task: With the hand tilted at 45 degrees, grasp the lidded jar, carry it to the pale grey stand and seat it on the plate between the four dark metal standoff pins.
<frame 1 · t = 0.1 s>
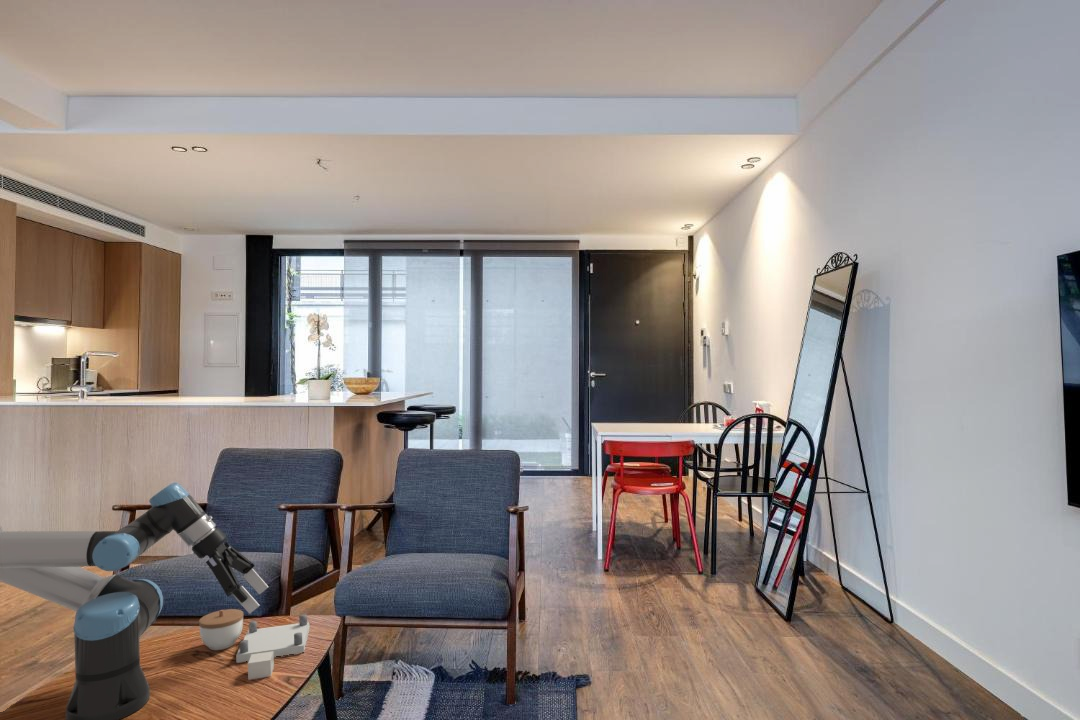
hand: (259, 599, 156), 15 cm above the table, tool tilted 35°, fingers open, 13 cm apart
plain off-white block: (261, 673, 149), on the table
grey stand: (275, 644, 164), on the table
lidded jar: (222, 646, 165), on the table
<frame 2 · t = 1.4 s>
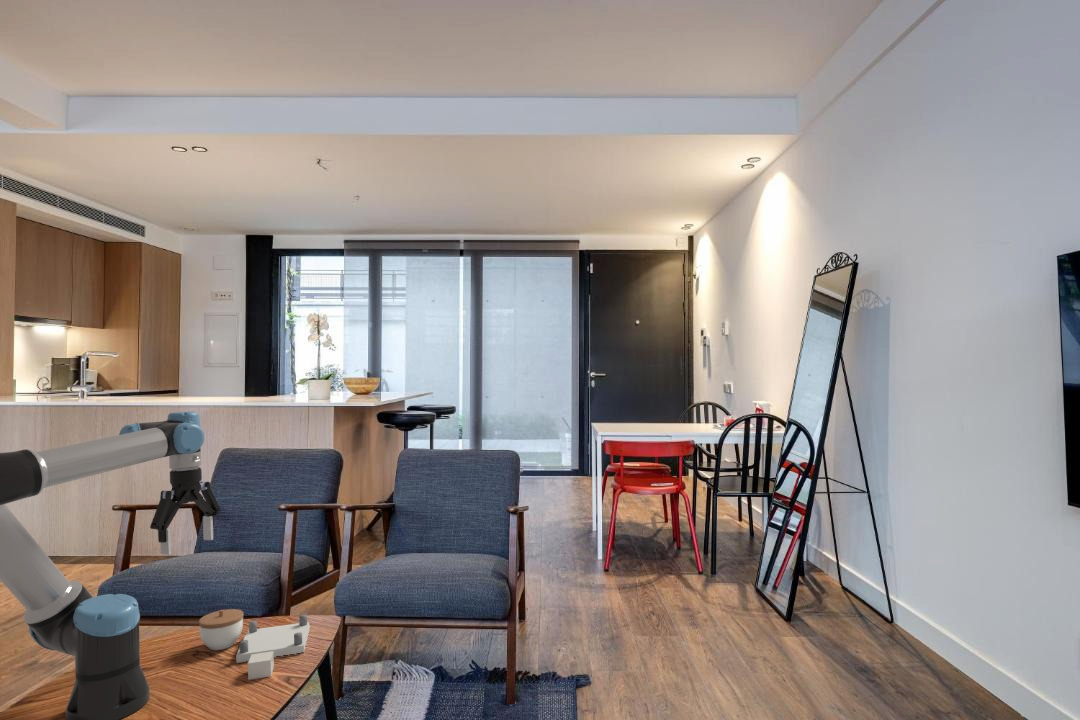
hand: (188, 546, 166), 27 cm above the table, tool pointing down, fingers open, 13 cm apart
nothing on the table moved.
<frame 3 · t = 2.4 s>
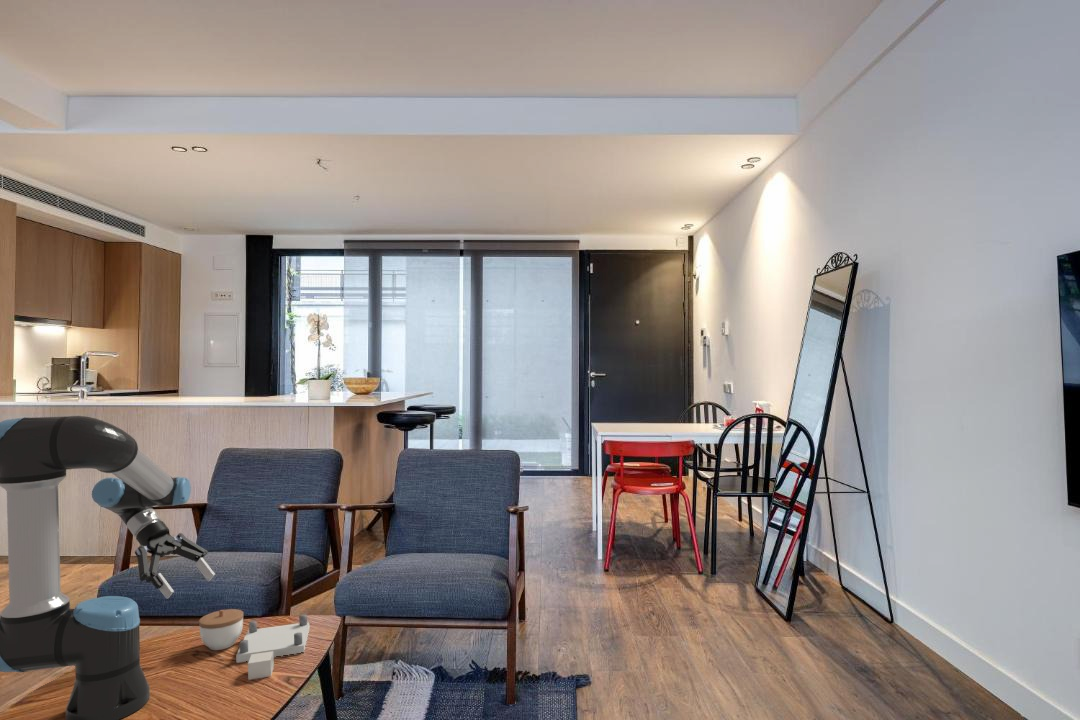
hand: (191, 586, 169), 15 cm above the table, tool tilted 45°, fingers open, 13 cm apart
nothing on the table moved.
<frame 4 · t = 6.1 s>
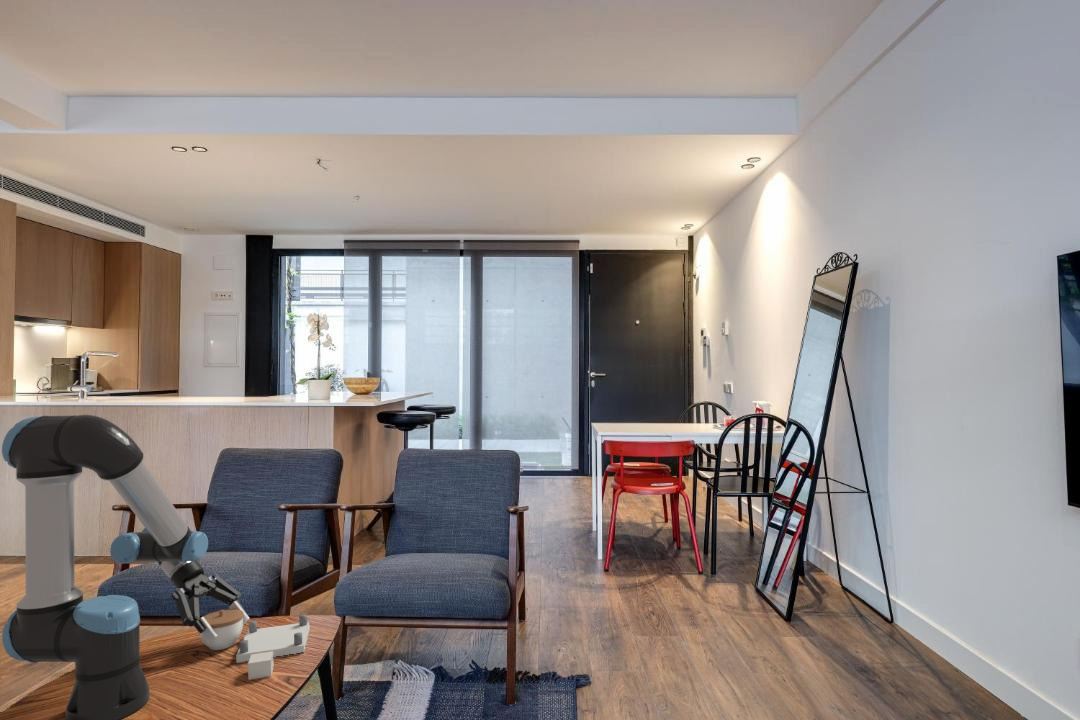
hand: (230, 630, 165), 4 cm above the table, tool tilted 45°, fingers closed on lidded jar, 11 cm apart
lidded jar: (222, 645, 165), on the table, touching gripper
everything else where it was.
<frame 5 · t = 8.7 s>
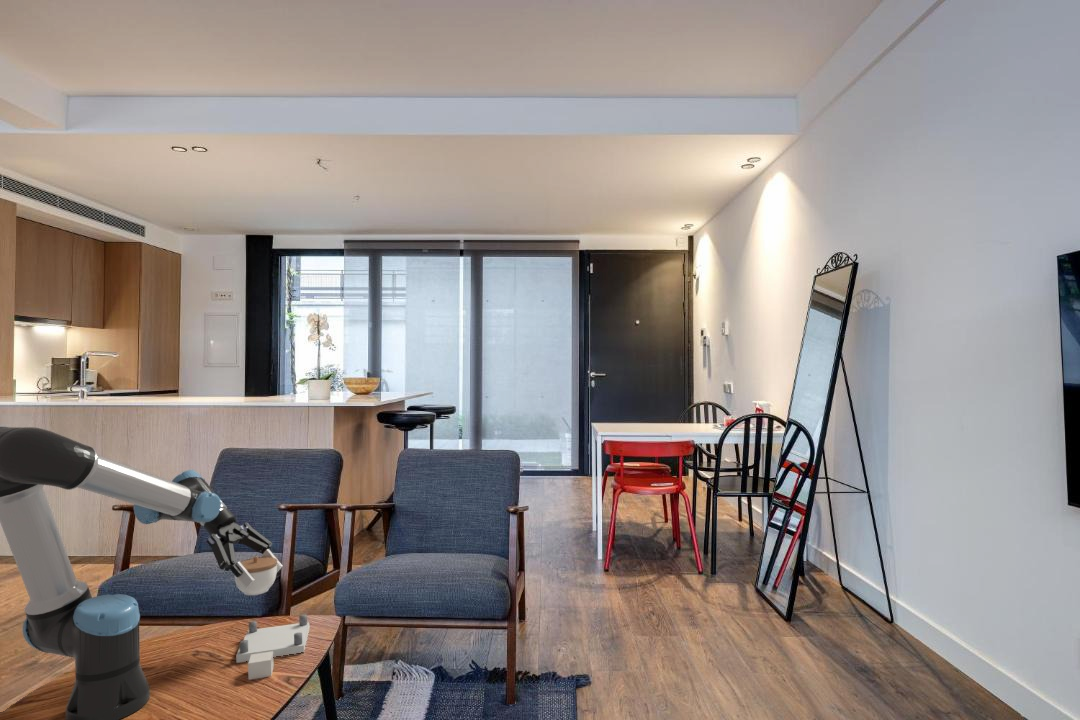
hand: (265, 576, 165), 18 cm above the table, tool tilted 45°, fingers closed on lidded jar, 11 cm apart
lidded jar: (256, 592, 166), point 14 cm above the table, touching gripper
everything else where it was.
when the fingers open (7 cm above the table, at t = 11.7 s): lidded jar stays where it is, resting on grey stand.
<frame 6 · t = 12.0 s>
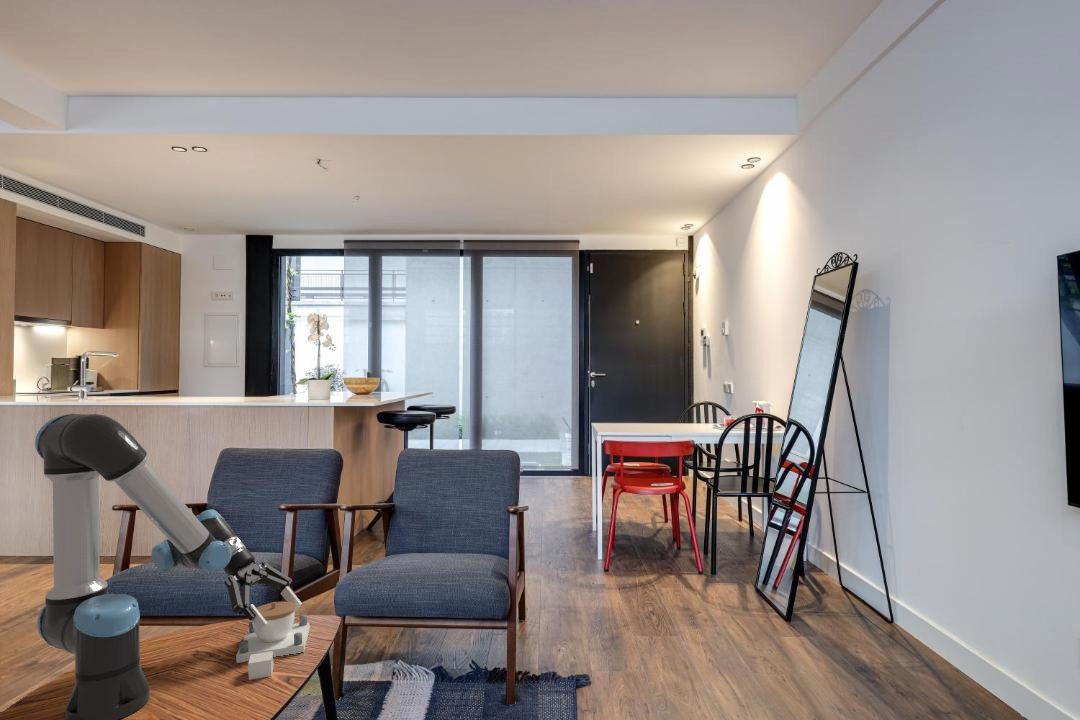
hand: (281, 616, 164), 8 cm above the table, tool tilted 45°, fingers open, 13 cm apart
lidded jar: (274, 638, 164), point 2 cm above the table, touching grey stand
everything else where it was.
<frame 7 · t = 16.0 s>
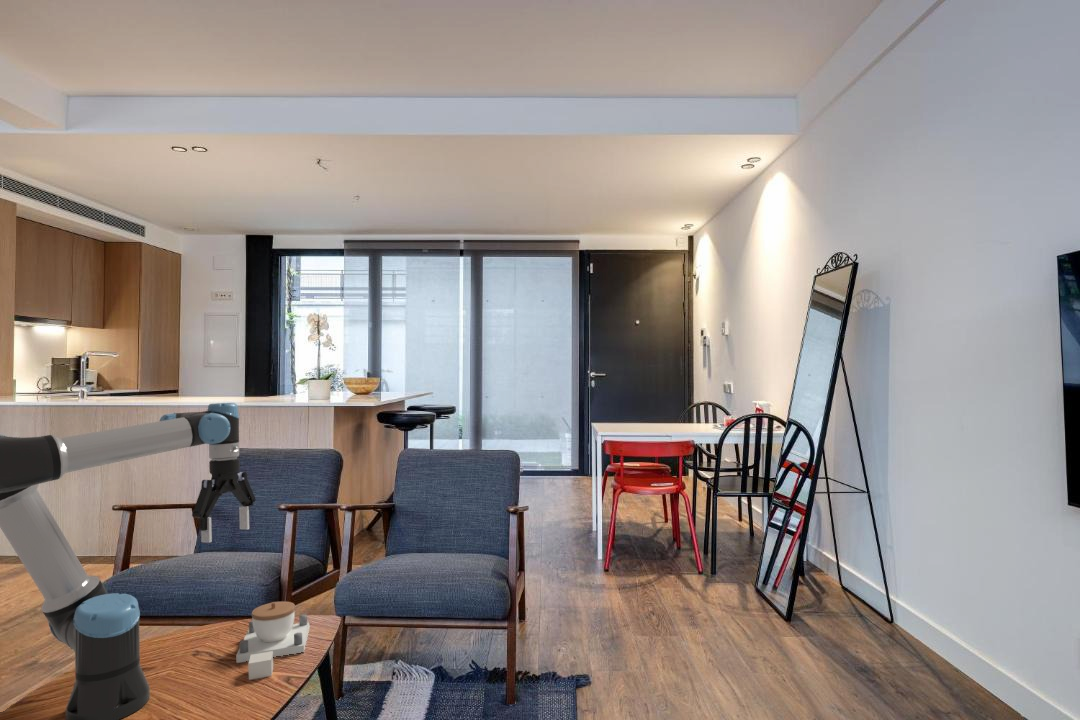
hand: (226, 535, 169), 29 cm above the table, tool pointing down, fingers open, 13 cm apart
nothing on the table moved.
at the end: lidded jar inside the target area on the grey stand (0.2 cm from its centre), point 1.8 cm above the grey stand's base; lidded jar tilted 0°; the gripper is holding nothing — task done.
